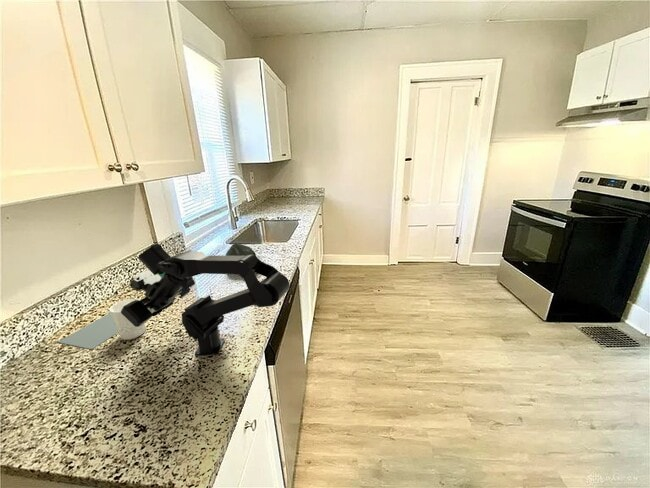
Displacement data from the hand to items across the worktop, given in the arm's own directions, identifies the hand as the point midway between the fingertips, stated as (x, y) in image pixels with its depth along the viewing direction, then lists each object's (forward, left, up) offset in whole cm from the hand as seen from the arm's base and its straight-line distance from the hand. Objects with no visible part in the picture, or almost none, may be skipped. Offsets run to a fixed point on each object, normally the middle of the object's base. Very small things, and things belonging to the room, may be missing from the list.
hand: (147, 315), depth 83 cm
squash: (+48, -16, -8) cm, 52 cm away
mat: (+6, +19, -8) cm, 21 cm away
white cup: (+2, +7, -8) cm, 11 cm away
